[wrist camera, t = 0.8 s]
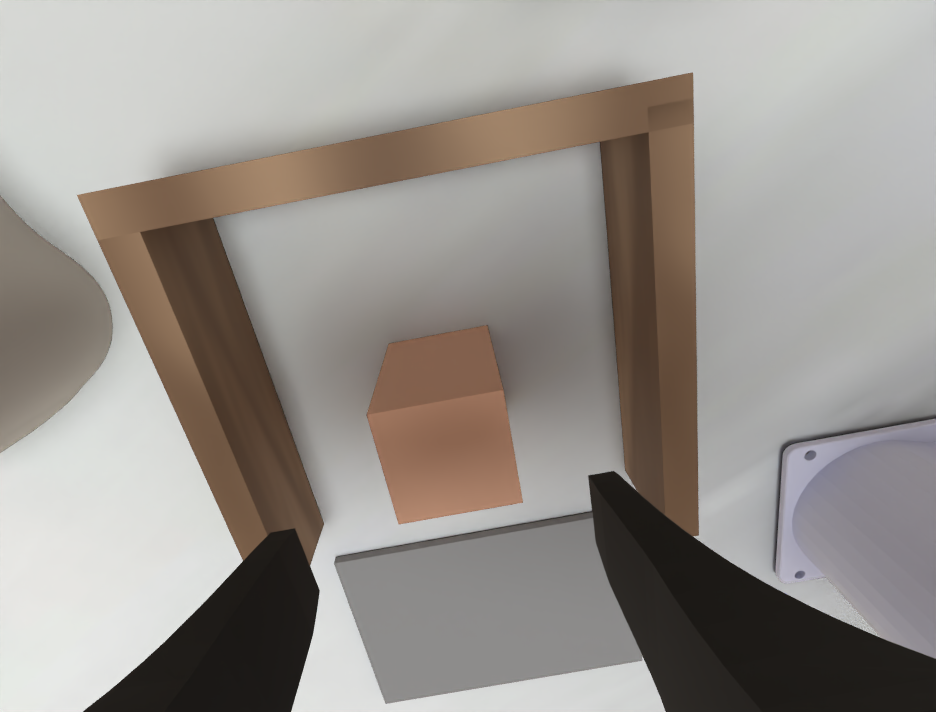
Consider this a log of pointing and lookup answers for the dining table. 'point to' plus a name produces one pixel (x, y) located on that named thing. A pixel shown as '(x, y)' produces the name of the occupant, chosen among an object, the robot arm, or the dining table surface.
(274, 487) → the open wooden frame
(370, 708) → the dining table surface
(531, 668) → the rubber mat
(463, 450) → the terracotta block
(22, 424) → the lumpy-topped squat cylinder
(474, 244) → the dining table surface
